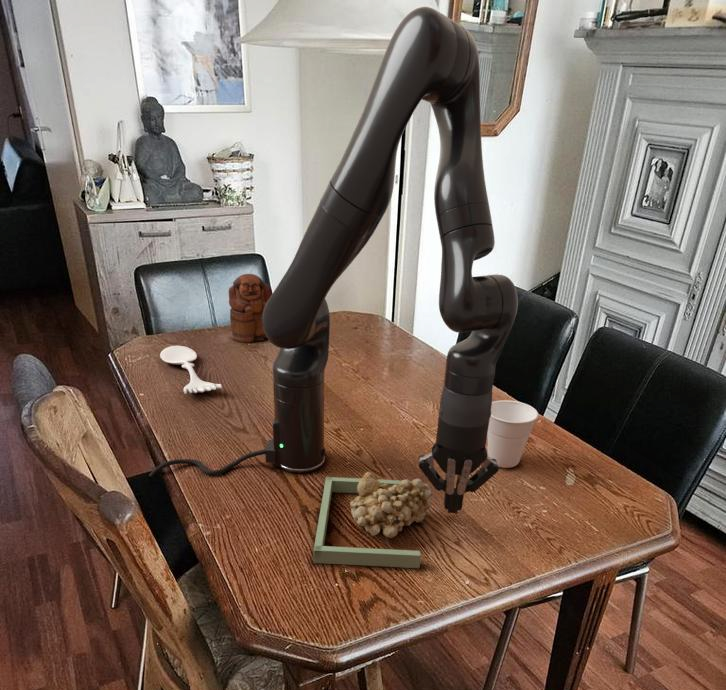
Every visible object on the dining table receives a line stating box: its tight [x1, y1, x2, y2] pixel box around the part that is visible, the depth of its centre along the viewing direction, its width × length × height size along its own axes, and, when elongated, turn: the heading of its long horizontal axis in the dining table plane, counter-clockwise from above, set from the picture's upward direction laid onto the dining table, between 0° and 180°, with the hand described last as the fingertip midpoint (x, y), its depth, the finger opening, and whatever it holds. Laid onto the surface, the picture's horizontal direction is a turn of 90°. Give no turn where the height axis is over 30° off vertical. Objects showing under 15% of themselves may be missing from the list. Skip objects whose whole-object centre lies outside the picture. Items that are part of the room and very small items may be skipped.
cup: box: [486, 399, 539, 469], centre depth 122 cm, size 10×10×11 cm
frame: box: [313, 476, 422, 569], centre depth 104 cm, size 16×21×2 cm
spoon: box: [159, 345, 223, 395], centre depth 155 cm, size 9×32×4 cm, turn 26°
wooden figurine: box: [228, 273, 273, 343], centre depth 176 cm, size 12×6×18 cm, turn 115°
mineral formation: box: [349, 471, 433, 539], centre depth 103 cm, size 8×13×15 cm
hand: (451, 510), depth 103 cm, fingers closed
